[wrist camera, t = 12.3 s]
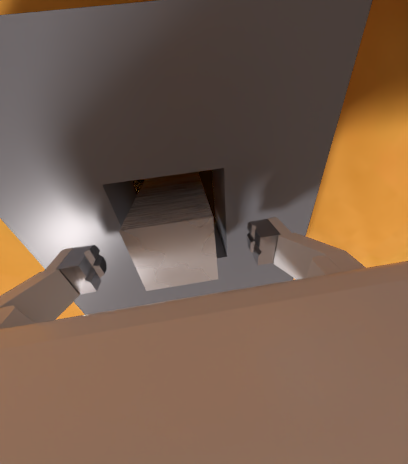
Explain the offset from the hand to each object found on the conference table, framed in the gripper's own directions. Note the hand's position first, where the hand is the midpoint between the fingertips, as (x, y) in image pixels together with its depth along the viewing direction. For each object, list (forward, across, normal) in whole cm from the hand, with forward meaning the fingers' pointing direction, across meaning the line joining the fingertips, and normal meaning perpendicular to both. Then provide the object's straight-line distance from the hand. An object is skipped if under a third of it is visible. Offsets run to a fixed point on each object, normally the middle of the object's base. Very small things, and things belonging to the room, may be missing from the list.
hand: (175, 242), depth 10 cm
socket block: (+7, 0, 0) cm, 7 cm away
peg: (+7, 0, 0) cm, 7 cm away
